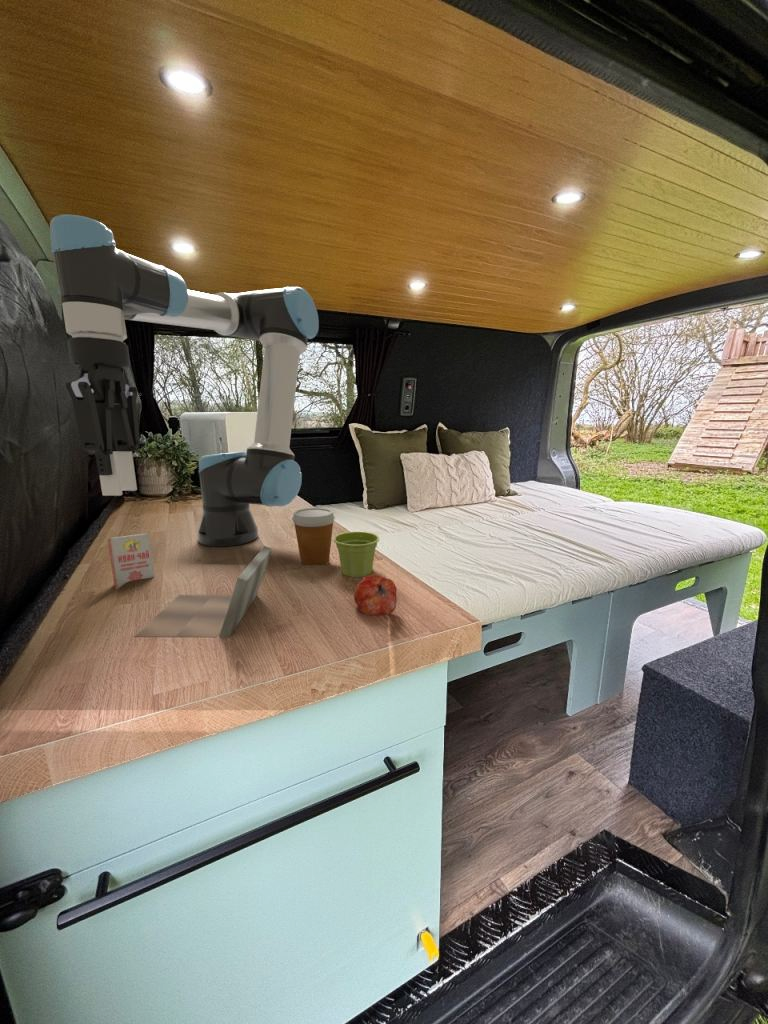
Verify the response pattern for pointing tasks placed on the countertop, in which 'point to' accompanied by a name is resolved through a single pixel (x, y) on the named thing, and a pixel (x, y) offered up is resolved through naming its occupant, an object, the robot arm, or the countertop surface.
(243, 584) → the grey flat slab
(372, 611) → the pomegranate
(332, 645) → the countertop surface
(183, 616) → the floorboard
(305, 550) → the disposable coffee cup
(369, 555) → the plant pot
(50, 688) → the countertop surface
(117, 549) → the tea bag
